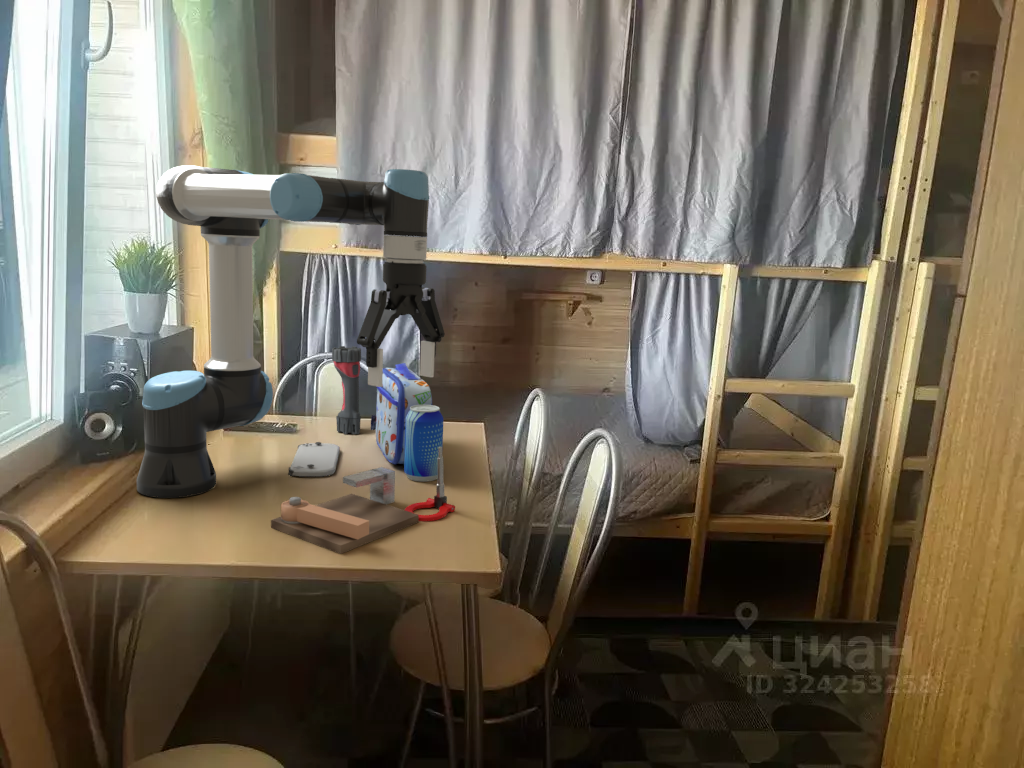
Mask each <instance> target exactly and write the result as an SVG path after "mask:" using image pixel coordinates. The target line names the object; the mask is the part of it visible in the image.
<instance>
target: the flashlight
mask: <svg viewBox="0 0 1024 768" xmlns="http://www.w3.org/2000/svg"><path fill="white" fill-rule="evenodd" d="M331 361H333V364H334V368H335V369H336V371H337V374H339V376H340V378H341V387H342V397H343V398H342V399H343V403H342V407H341V411H340V412H338V413H337V415H336V417H335V418H336V431H338V432H337V433H341V432H342V434H343V433H344V434H343V435H348V434H351V435H355V434H357V435H359V434H361V433H360V431H361V417H362V416H361V413H360V411H359V410H360V409H359V406H360V382H359V381H360V379H359V378H360V373H361V361H362V349H361V348H360V347H357V346H355V345H354V346H351V347H346V346H345V345H344V346H342V345H341V346H339V347H336V346H334V347H332V349H331Z"/></svg>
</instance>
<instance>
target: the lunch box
mask: <svg viewBox="0 0 1024 768" xmlns="http://www.w3.org/2000/svg"><path fill="white" fill-rule="evenodd" d="M394 366H395V367H384V368H383V374H382V387H377V386H375V387H376V413H375V414H373V415H371V416H370V417H371V418H370V431H375V442H376V445H377V446H378V448H379V449H380V451H381V453H382V455H383V456H384V458H385V459H386V461H388V462H389V463H390V464H393V465H397V464H400V465H404V458H405V418H406V415H407V414H408V412H409V411H410V407H411V406H414V405H433V397H432V391H431V387H430V385H429V384H428V383H427V382H426V381H425V380H424V379H422V378H421V377H420V375H418V374H416V372H414V371H413V370H411V368H408V366H407V364H406V362H403V363H398V364H395V365H394Z"/></svg>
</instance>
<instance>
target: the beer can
mask: <svg viewBox="0 0 1024 768" xmlns="http://www.w3.org/2000/svg"><path fill="white" fill-rule="evenodd" d="M440 409H441V407H439V406H437V405H433V404H432V405H414V406H411V407H410V411H409V412H408V414H407V415H406V418H405V458H404V464H403V466H404V468H403V469H404V470H403V472H404V474H405V475H406V477H407V478H408V479H409V480H410V481H414V482H421V483H422V482H424V483H425V482H432V481H435V480H437V457H438V447H442V449H443V443H444V441H443V440H444V421H445V420H444V417H443V414H442V413H441V410H440Z"/></svg>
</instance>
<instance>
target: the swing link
mask: <svg viewBox="0 0 1024 768" xmlns="http://www.w3.org/2000/svg"><path fill="white" fill-rule="evenodd" d="M315 505H316V504H315ZM315 505H314V504H310V503H309V501H307V500H305V499H302V498H301V497H299V496H292V497H289V499H288V500H284V501H283V502H282V503H280V517H282V519H283V520H285V521H291V522H296V521H297V522H300V523H304V524H307V525H310V526H314V527H317V528H321V529H324V530H327V531H331V532H334V533H337V534H341V535H344V536H348V537H351V538H354V539H360V538H362V537H364V536H366V535H368V534H369V520H365V519H361V518H358V517H354V516H351V515H347V514H344V513H340V512H336V511H333V510H329V509H326V508H322V507H319V506H315Z"/></svg>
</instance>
